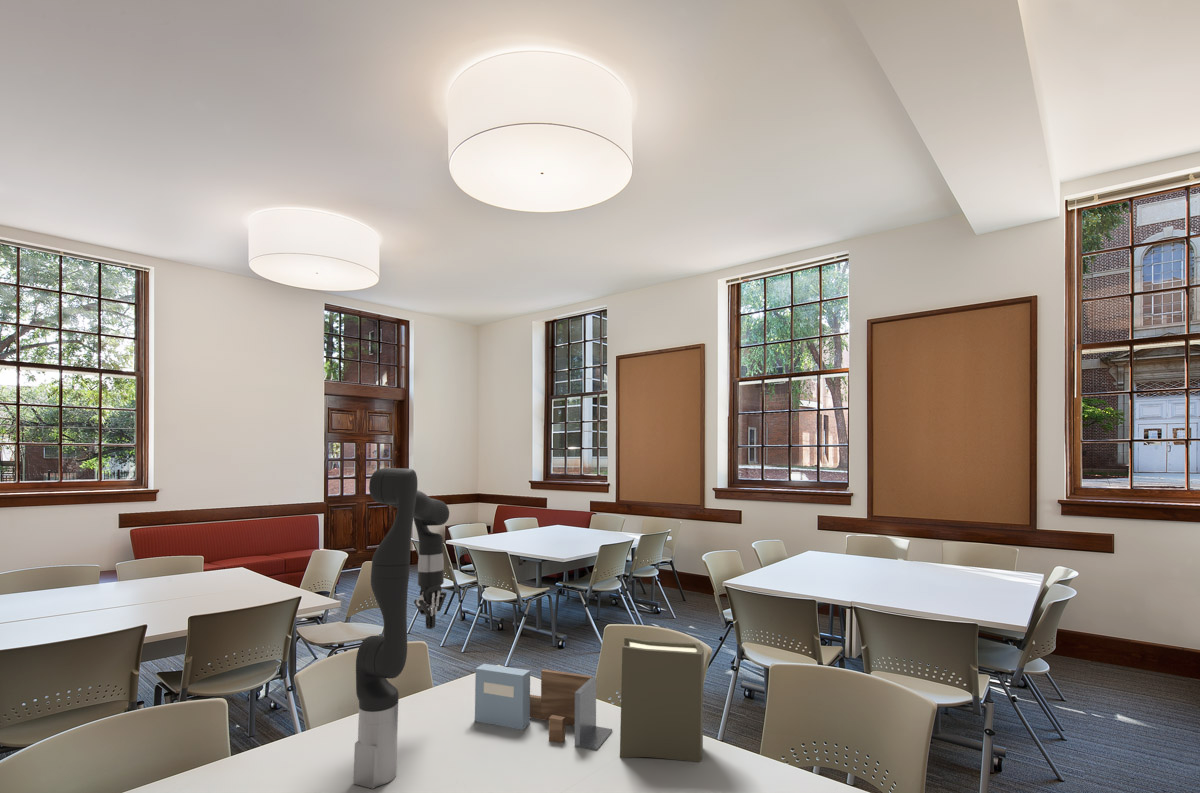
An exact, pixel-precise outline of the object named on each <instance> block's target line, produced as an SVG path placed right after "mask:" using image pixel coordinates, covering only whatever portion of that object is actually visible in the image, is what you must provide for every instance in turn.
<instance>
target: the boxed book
mask: <svg viewBox="0 0 1200 793" xmlns="http://www.w3.org/2000/svg"><path fill="white" fill-rule="evenodd" d="M474 678H475V684H474V685H475V686H474V689H475V690H474V691H475V692H474V721H475V722H480V723H484V724H490V725H496V726H501V727H507V728H512V729H518V730H522V731H523V730H524V729H525V728H527V727H528V725H529V724H530V722H531V718H530V695H531V670H529V669H524V668H515V667H509V666H503V665H502V666H501V665H495V664H488V663H482V664H481V665H479V666H477V667H476V668H475V677H474Z"/></svg>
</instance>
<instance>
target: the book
mask: <svg viewBox="0 0 1200 793" xmlns="http://www.w3.org/2000/svg"><path fill="white" fill-rule="evenodd" d="M623 641H624V642H623V643H624V644H623V645H622V647H621V650H622V651H621V654H622V655H621V683H620V684H621V686H620V687H621V691H620V695H621V697H620V726H619V727H620V732H619V733H620V734H619V739H620V740H619V741H620V742H619V758H620V759H623V758H654V759H655V758H656V759H664V760H665V759H667V760H677V761H678V760H679V761H687V762H693V763H694V762H695V763H697V762H698V763H701V762H702V759H703V756H704V755H703V754H704V752H703V751H704V749H703V748H704V746H703V745H704V744H703V743H704V734H703V733H704V678H705V677H704V673H705V672H704V670H705V669H704V665H705V659H704V658H705V657H704V656H705V650H704V646H703V645H702V644H701V642H699V643H698V642H682V641H679V642H678V641H662V640H649V639H641V638H636V637H630V636H624V640H623Z"/></svg>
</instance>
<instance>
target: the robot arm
mask: <svg viewBox="0 0 1200 793" xmlns="http://www.w3.org/2000/svg"><path fill="white" fill-rule="evenodd" d="M418 484H419V483H418V475H417V472H416V471H415V470H414V469H413V468H404V467H403V468H400V467H399V468H398V467H397V468H396V467H394V468H393V467H387V468H386V467H385V468H384V467H383V468H379V469H377V470H375V471H374V472H373V473H372V475H371V477H370V479H369V484H368V491H369V495H370V497H371V498H372V500H373V501H374V502H376V503H378V504H379V503H380V504H383V505H388V506H391V507H393V508H396V509H397V510H396V514H395V518H394V521H393V524H392V526H391V528H390V529H389V531H388V532H387V533H386V534H385V536H384V538H383V539H382V541H380V543H379V545H378V546H377V548H376V550H375V551H374V554H373V555H372V559H371V560H372V561H371V570H370V586H371V590H372V592H373V595H374V599H375V601H376V603H377V605H378V607H379V610H380V612H381V615H382V620H383V636H382V635H370V636H367V637H366V638H365V639H363V640H362V641H361V643H360V645H359V646H358V649H357V653H356V656H355V657H356V658H355V693H356V698H357V700H358V723H357V724H358V728H357V729H358V730H357V741H355V743H354V754H353V755H354V757H353V758H354V759H353V782H352V783H353V784H354V785H356V786H357V785H358V786H360V787H364V788H369V789H375V788H377V787H380V786H383V785H385V784H387V783H390V782H391V781H393V780H394V779H395V778H396V775H397V766H398V763H397V762H398V761H397V759H398V758H397V757H398V727H399V696H400V695H399V691H398V690H399V689H397V688H396V686H394V685H393V684H392V683H390V681H388V679H396V678H397V677H399V675H400V674H402V672H403V670H404V668H405V665H406V663H407V662H406V661H407V656H408V625H407V624H408V621H407V618H408V617H407V614H408V610H407V609H408V593H409V592H408V591H409V590H408V589H409V581H410V580H409V579H410V568H411V567H410V565H411V548H412V547H411V546H412V544H411V543H412V530H413V523H414V526H415V529H416V531H417V537H418V538H417V539H418V559H417V560H418V561H417V585H418V587H420V591H419V597H418V598H417V599H414V601H413V604H414V606H416V608H417V610H418V612H419V614H420V615H422V616H425V628H426V629H428V630H432V629H435V628H436V620H437V619H436V616H437V614H438V612H441V609H442V607H443V605H444V602H445V600H446V597H447V592H444V591H443V590H442V585H443V584H444V580H445V578H444V576H445V575H444V573H445V571H444V570H445V569H444V567H445V566H444V565H445V564H444V563H445V562H444V553H443V552H444V539H443V538H444V537H443V535H442V534H440V533H437V532H433V531H430V529H429V526H435V527H436V526H442V525H445V524H446V523H447V522H448V520H449V519H450V509H449V507H448V505H447V504H446V503H445V502H444V501H443V500H439V499H435V498H433V497H432V498H431V497H430V496H428V495H427V494H426V493H424V492H422V491H421V490H418Z"/></svg>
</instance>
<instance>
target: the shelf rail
mask: <svg viewBox="0 0 1200 793" xmlns="http://www.w3.org/2000/svg"><path fill="white" fill-rule="evenodd" d="M540 674H541V675H540V680H541V681H540V682H541V683H540V695H537V694H530V719H536V720H541V721H548V741H550V742H556V743H559V744H560V743H561V744H562V743H564V742H565V740H566V725H570V726H575V692H576V691H577V690H578V689H579V688H580V687H581V686H583V685H584V684H585V683H586V682H587V681H588V680H589V679H590V678H591V677H592V678H594V677H593V675H587V674H586V675H585V674H578V673H572V672H565V671H559V670H553V669H546V668H543V669H541V673H540Z"/></svg>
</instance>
